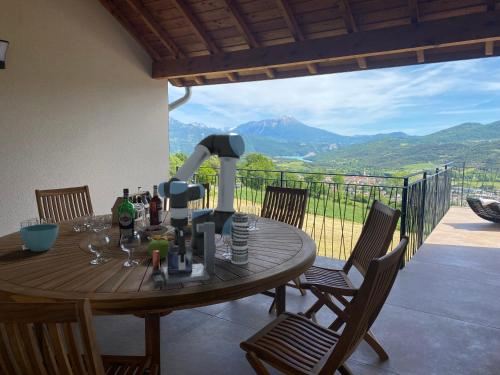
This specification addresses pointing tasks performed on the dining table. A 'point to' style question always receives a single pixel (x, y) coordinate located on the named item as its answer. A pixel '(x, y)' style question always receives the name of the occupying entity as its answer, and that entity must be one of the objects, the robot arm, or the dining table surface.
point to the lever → (156, 262)
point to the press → (197, 269)
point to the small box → (174, 260)
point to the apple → (159, 247)
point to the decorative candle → (239, 238)
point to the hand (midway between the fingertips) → (179, 264)
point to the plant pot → (39, 236)
